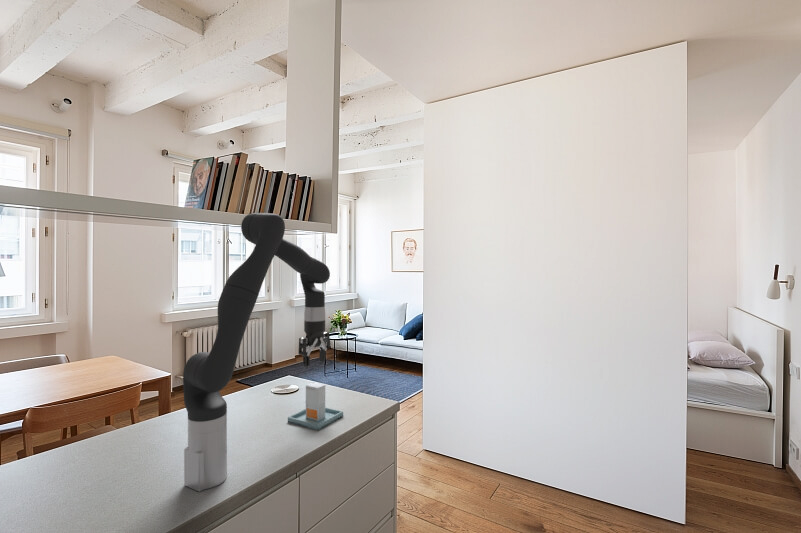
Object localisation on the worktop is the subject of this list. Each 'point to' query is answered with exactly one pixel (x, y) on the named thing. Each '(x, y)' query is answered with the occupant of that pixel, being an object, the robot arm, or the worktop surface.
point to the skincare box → (315, 401)
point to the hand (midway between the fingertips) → (314, 363)
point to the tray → (301, 420)
